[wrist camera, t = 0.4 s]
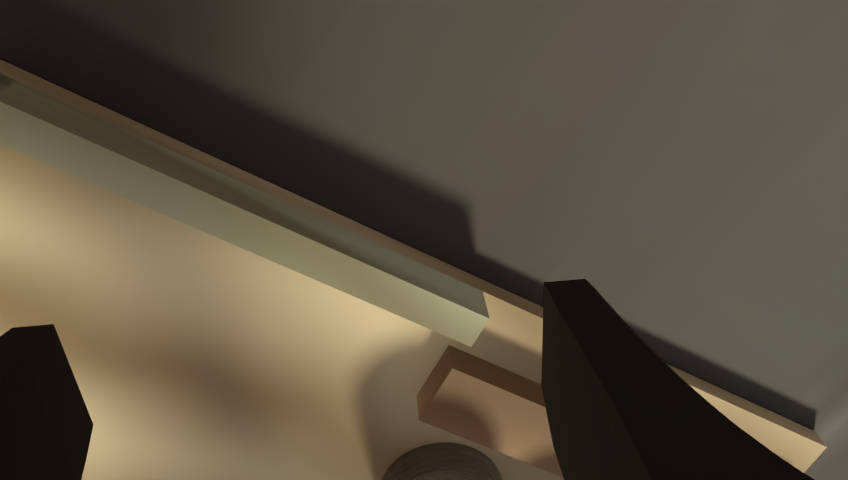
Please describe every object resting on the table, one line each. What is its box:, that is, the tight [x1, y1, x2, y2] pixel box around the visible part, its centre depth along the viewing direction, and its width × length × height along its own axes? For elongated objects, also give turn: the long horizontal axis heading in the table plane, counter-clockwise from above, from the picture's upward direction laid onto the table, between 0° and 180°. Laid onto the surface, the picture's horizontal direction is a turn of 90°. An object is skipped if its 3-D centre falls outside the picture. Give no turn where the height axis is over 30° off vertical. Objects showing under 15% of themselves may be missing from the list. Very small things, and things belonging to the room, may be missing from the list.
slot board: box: [0, 60, 827, 480], centre depth 25 cm, size 14×27×2 cm, turn 62°
